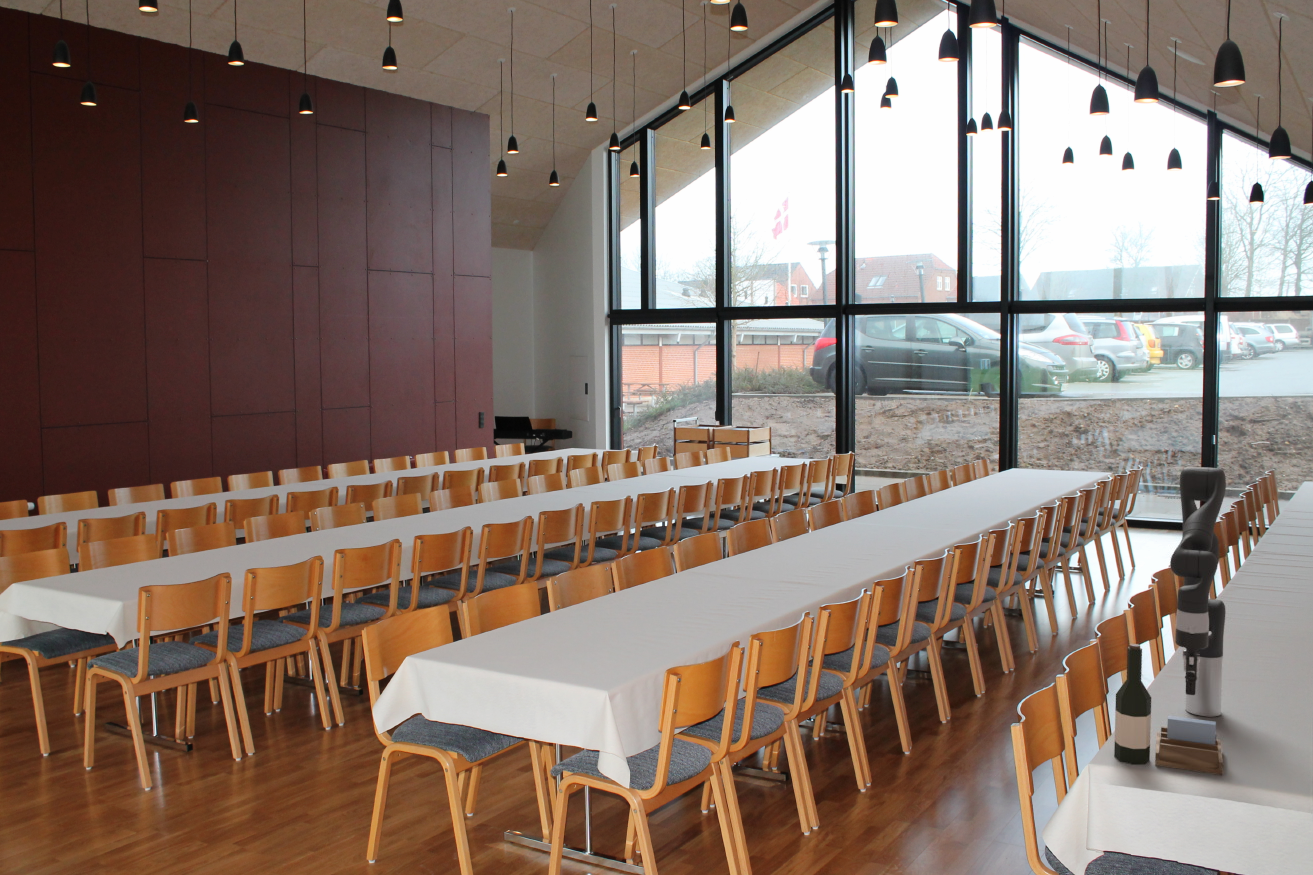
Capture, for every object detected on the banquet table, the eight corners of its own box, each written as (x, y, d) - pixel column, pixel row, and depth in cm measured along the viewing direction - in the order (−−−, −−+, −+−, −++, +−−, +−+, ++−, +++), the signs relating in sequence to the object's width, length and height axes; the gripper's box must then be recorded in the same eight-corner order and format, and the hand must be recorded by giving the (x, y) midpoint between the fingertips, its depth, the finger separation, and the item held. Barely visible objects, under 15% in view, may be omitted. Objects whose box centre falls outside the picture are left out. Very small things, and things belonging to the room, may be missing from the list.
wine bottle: (1150, 766, 266) (1154, 650, 263) (1114, 762, 269) (1117, 647, 266) (1148, 754, 273) (1151, 642, 271) (1113, 750, 276) (1116, 639, 274)
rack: (1156, 743, 281) (1157, 724, 280) (1220, 752, 274) (1220, 732, 274) (1155, 764, 267) (1155, 744, 266) (1222, 774, 260) (1222, 754, 259)
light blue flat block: (1166, 748, 274) (1167, 715, 273) (1214, 755, 269) (1215, 721, 268) (1166, 752, 272) (1167, 718, 271) (1214, 759, 267) (1215, 724, 266)
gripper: (1175, 618, 275) (1174, 678, 277) (1175, 633, 263) (1173, 695, 264) (1208, 621, 272) (1206, 682, 273) (1209, 636, 259) (1207, 700, 261)
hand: (1190, 689), depth 269 cm, fingers open, 8 cm apart
